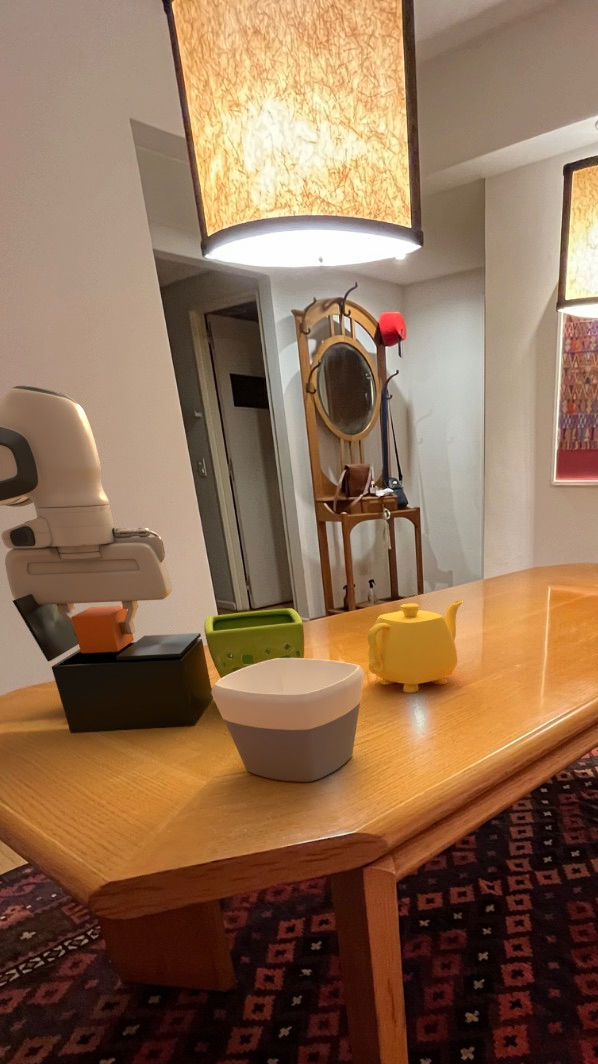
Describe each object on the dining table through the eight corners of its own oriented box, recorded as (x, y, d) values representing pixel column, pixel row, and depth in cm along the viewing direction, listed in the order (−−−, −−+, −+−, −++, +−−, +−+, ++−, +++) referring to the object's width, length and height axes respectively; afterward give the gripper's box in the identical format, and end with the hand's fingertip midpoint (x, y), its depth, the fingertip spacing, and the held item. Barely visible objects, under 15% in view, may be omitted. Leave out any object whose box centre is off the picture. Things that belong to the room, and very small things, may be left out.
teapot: (348, 684, 112) (340, 606, 107) (439, 662, 124) (436, 590, 119) (397, 702, 103) (392, 618, 98) (491, 676, 115) (491, 599, 109)
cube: (118, 651, 93) (109, 615, 91) (80, 653, 93) (71, 616, 91) (134, 640, 100) (126, 605, 97) (99, 642, 99) (90, 607, 97)
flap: (51, 660, 90) (47, 661, 90) (87, 639, 102) (84, 640, 102) (15, 599, 86) (11, 600, 86) (57, 584, 98) (53, 585, 98)
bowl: (285, 734, 92) (274, 653, 87) (385, 748, 86) (379, 663, 81) (209, 778, 79) (190, 686, 74) (320, 798, 74) (308, 700, 69)
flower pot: (304, 683, 114) (294, 606, 108) (315, 707, 102) (305, 622, 96) (218, 692, 110) (203, 613, 105) (219, 719, 98) (202, 631, 93)
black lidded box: (70, 733, 95) (49, 660, 90) (103, 704, 106) (85, 638, 102) (194, 725, 96) (179, 653, 91) (213, 698, 108) (200, 632, 103)
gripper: (166, 525, 93) (185, 626, 99) (10, 530, 91) (40, 633, 97) (153, 529, 87) (174, 635, 94) (-13, 534, 86) (20, 643, 92)
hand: (105, 634), depth 95 cm, fingers closed on cube, 5 cm apart
